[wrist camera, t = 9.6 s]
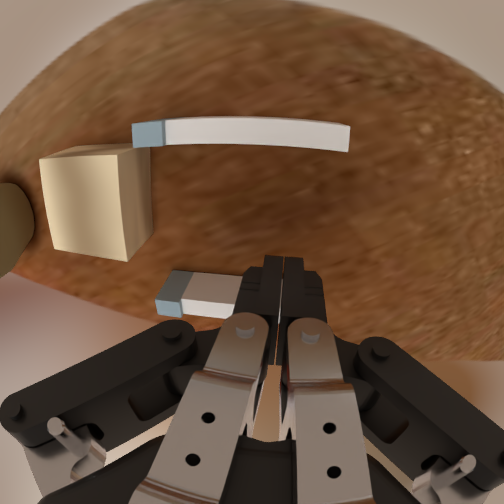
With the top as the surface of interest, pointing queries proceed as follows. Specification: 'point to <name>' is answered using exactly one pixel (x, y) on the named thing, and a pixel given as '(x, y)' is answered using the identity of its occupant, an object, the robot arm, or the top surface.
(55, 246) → the maple block
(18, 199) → the squeeze bottle
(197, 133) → the corridor
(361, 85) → the top surface
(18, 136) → the top surface
